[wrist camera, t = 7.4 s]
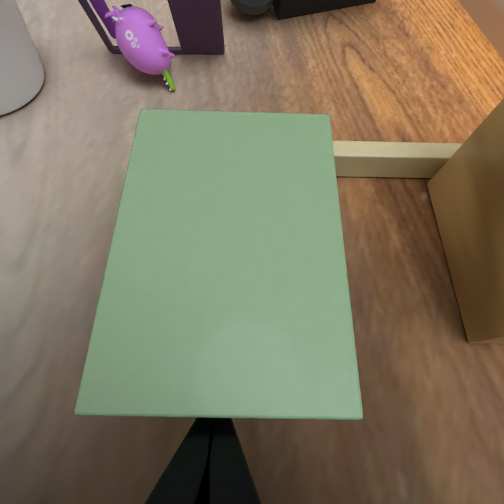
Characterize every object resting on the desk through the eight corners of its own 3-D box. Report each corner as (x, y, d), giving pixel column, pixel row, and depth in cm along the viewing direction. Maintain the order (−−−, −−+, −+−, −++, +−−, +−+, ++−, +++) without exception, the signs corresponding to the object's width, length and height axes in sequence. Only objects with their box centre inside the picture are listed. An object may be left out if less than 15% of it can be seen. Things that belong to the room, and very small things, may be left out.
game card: (217, -46, 18) (59, -49, 18) (216, 39, 18) (56, 37, 17) (224, 40, 25) (110, 39, 24) (224, 104, 24) (109, 103, 24)
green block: (305, 403, 15) (365, 420, 7) (158, 401, 15) (71, 415, 7) (296, 219, 19) (330, 113, 11) (181, 217, 19) (139, 107, 11)
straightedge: (515, 180, 20) (542, 160, 18) (147, 173, 20) (137, 151, 18) (509, 165, 21) (535, 144, 19) (149, 158, 20) (140, 135, 19)
